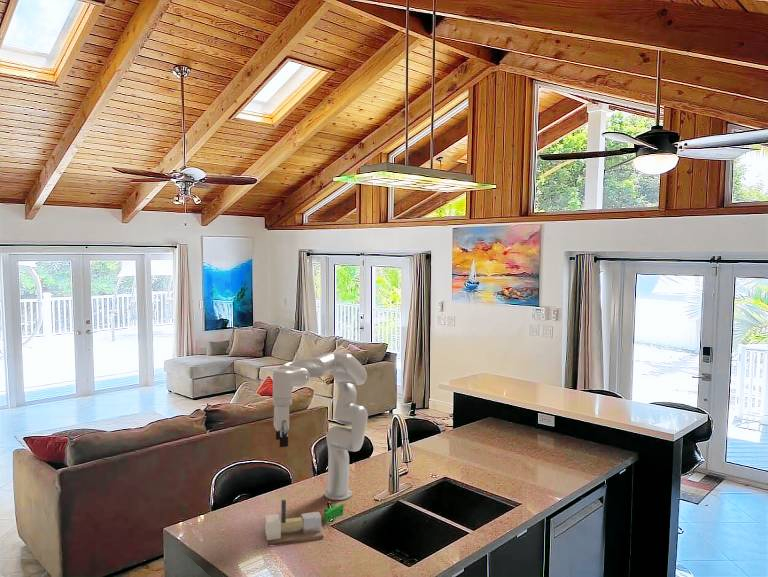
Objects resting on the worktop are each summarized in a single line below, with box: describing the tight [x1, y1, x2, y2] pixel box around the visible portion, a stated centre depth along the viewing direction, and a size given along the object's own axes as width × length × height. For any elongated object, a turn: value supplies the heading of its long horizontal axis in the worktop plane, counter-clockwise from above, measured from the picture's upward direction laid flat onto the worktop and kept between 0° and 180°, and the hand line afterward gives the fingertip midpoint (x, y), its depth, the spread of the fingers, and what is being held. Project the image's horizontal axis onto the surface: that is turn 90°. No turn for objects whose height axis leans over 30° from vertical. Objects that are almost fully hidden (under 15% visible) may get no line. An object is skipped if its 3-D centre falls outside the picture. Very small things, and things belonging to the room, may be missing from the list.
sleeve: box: [300, 511, 322, 534], centre depth 227 cm, size 5×7×6 cm
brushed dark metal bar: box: [280, 499, 303, 531], centre depth 225 cm, size 3×13×11 cm, turn 109°
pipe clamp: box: [323, 503, 344, 524], centre depth 241 cm, size 11×4×5 cm, turn 146°
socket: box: [264, 513, 281, 541], centre depth 223 cm, size 7×5×6 cm
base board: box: [263, 528, 324, 547], centre depth 225 cm, size 12×21×1 cm, turn 109°
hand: (281, 442), depth 231 cm, fingers open, 9 cm apart
